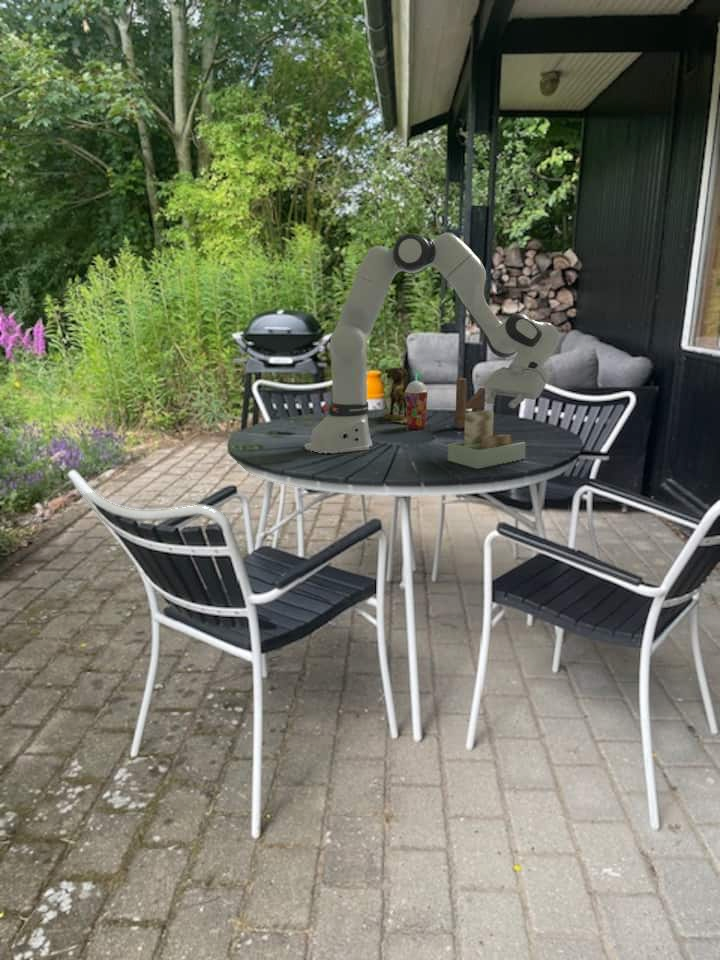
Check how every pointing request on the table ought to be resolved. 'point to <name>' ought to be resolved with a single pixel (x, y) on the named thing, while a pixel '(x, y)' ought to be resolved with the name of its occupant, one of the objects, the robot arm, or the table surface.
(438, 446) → the table surface
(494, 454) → the rack
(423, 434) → the table surface
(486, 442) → the offcut stack
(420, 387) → the smoothie
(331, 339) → the robot arm
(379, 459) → the table surface
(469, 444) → the beige brown rectangular slab
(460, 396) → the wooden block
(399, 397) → the figurine
